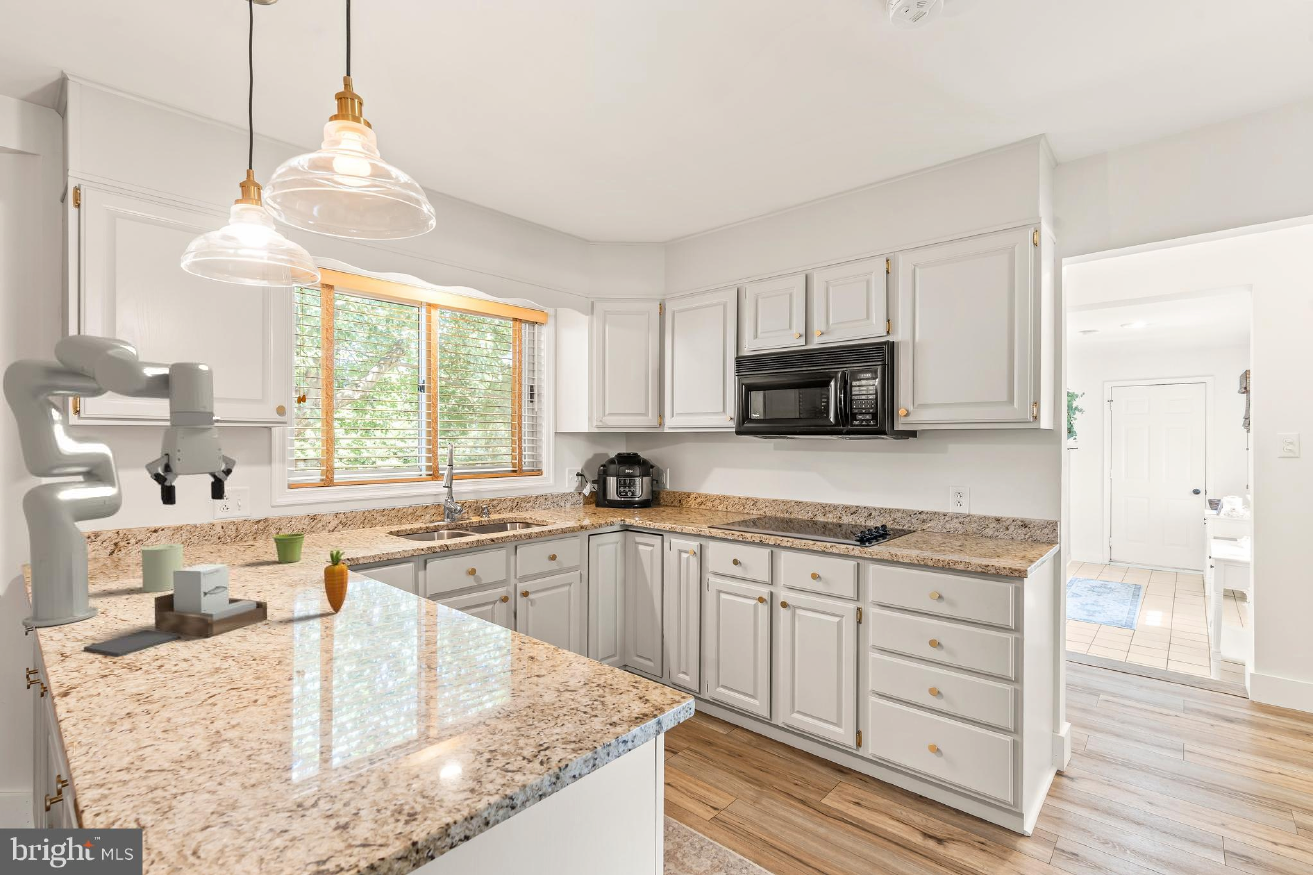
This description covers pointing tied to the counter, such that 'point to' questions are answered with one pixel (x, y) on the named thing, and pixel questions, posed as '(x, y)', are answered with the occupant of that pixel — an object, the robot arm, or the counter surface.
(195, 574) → the supplement box
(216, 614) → the upper offcut
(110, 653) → the rubber mat
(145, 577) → the can
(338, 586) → the carrot
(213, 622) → the walnut rack
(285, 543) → the plant pot
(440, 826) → the counter surface
